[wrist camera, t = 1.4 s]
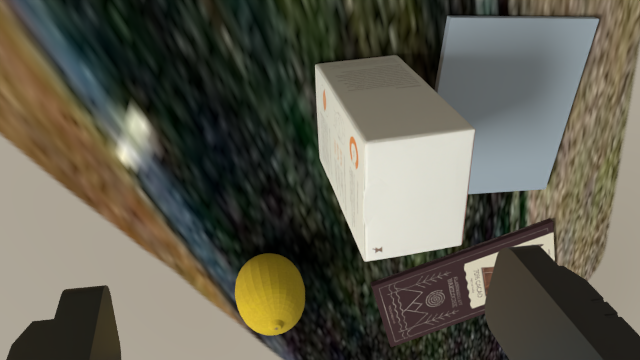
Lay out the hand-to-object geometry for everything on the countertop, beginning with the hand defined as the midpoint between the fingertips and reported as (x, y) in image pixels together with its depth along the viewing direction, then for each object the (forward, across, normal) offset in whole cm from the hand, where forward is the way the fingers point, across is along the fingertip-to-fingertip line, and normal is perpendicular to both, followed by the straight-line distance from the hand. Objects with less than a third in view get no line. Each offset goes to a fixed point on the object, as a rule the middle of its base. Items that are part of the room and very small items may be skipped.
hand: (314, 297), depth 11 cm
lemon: (+29, -2, +22) cm, 36 cm away
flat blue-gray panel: (+28, -21, +8) cm, 37 cm away
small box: (+29, -9, +8) cm, 31 cm away
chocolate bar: (+29, -22, +27) cm, 46 cm away
